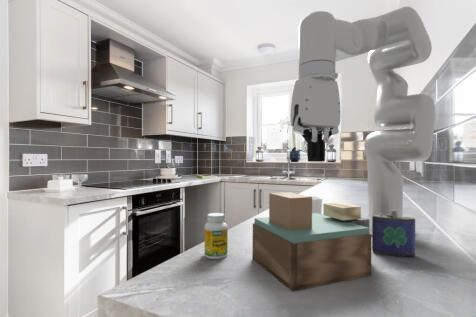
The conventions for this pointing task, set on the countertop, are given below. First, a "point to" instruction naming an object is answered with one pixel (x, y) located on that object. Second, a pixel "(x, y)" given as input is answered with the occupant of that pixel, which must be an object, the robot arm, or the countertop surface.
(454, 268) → the countertop surface
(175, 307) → the countertop surface
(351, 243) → the wooden box
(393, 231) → the flask
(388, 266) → the countertop surface
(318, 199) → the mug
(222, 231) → the supplement bottle
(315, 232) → the lid
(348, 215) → the pale gold block
